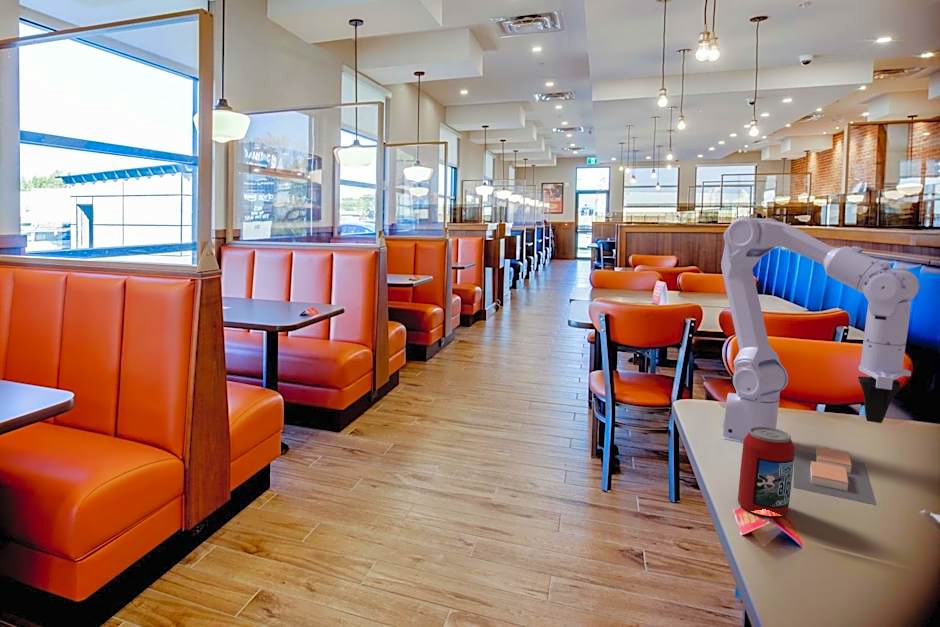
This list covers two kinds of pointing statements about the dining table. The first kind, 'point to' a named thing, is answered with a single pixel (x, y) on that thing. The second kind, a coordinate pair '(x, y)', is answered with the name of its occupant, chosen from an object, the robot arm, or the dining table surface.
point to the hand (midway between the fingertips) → (873, 421)
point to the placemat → (856, 487)
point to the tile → (829, 475)
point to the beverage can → (766, 470)
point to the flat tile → (833, 457)
